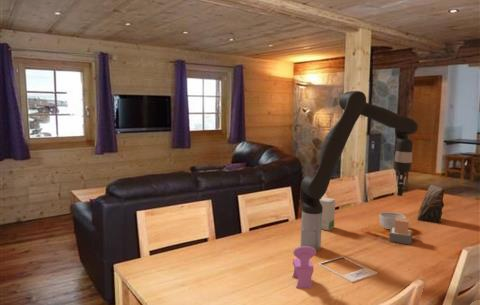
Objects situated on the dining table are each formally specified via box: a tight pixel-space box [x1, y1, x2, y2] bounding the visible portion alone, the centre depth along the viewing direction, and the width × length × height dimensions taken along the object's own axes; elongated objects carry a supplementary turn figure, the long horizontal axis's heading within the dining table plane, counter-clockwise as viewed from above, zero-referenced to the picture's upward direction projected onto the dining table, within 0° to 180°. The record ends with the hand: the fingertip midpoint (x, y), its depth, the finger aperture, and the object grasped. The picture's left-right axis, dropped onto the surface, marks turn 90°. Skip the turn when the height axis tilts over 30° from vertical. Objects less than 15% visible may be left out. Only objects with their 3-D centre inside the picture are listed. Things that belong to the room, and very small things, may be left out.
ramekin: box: [379, 211, 407, 229], centre depth 198 cm, size 13×13×7 cm
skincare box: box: [319, 197, 336, 231], centre depth 196 cm, size 8×7×16 cm
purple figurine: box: [291, 246, 317, 289], centre depth 135 cm, size 8×9×15 cm
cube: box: [394, 217, 410, 234], centre depth 180 cm, size 6×6×6 cm
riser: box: [388, 227, 414, 246], centre depth 181 cm, size 10×10×4 cm
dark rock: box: [417, 183, 445, 224], centre depth 212 cm, size 13×13×20 cm
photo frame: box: [317, 255, 378, 284], centre depth 148 cm, size 15×1×18 cm
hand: (400, 193), depth 178 cm, fingers open, 8 cm apart
